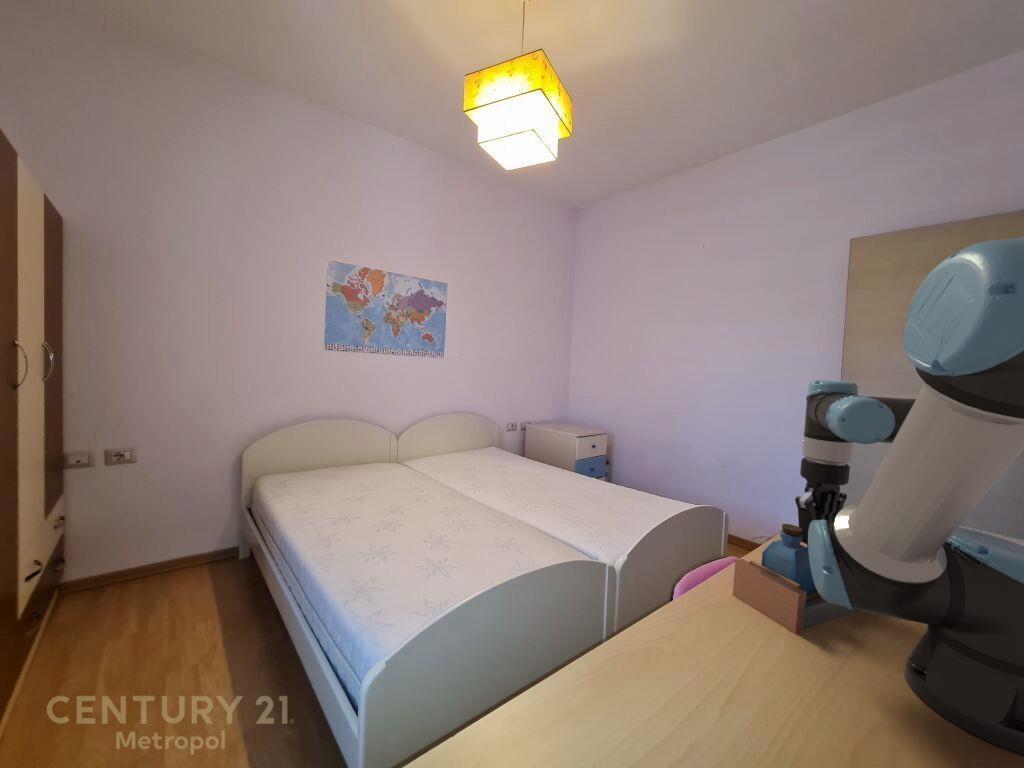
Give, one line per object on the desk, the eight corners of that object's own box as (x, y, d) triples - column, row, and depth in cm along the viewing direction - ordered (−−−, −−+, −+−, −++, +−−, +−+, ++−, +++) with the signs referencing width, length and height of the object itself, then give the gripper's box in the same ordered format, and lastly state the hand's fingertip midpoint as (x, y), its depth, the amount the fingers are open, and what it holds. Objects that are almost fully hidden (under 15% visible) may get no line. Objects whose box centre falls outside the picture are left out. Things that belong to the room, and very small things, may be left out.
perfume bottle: (759, 583, 79) (764, 523, 78) (780, 577, 82) (785, 519, 81) (792, 601, 73) (798, 536, 72) (813, 594, 76) (819, 531, 75)
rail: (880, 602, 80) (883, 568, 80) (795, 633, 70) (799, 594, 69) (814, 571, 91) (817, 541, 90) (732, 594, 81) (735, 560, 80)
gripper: (823, 453, 85) (813, 562, 87) (784, 457, 80) (773, 573, 82) (867, 462, 78) (854, 580, 80) (826, 468, 73) (814, 594, 75)
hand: (813, 577), depth 81 cm, fingers closed
